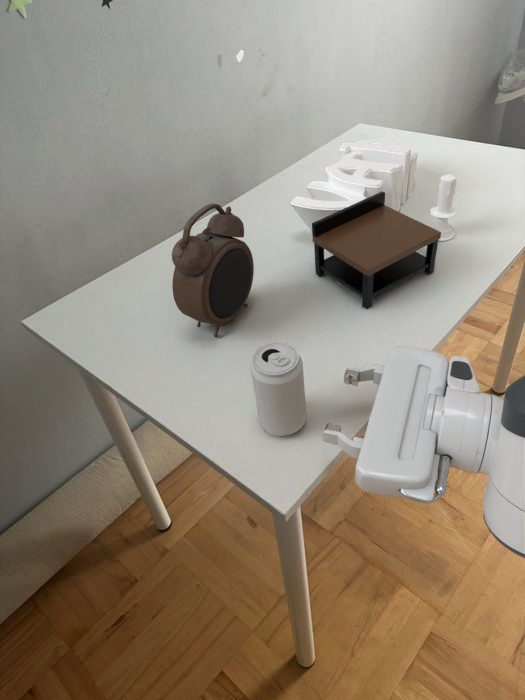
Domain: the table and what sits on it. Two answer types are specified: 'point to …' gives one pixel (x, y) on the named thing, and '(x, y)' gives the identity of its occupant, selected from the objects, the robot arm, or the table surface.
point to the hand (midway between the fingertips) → (335, 402)
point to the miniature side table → (372, 247)
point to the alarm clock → (212, 269)
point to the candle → (445, 207)
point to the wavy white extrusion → (361, 179)
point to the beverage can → (279, 388)
